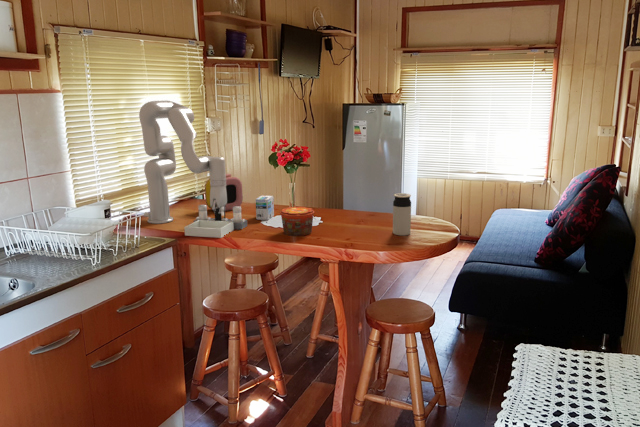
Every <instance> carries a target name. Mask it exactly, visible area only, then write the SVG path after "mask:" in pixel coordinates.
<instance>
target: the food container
mask: <svg viewBox="0 0 640 427" xmlns="http://www.w3.org/2000/svg"><path fill="white" fill-rule="evenodd" d="M314 214H315V210H313V208H312V207H305V206H290V207H285V208H282V209H281V210H280V212H279V215H281V222H282V223H281V224H282V228H283V234H284V235H286V236H291V237H300V236H301V237H303V236H307V235H310V234H311V233H312V232H313V231H312V230H313V219H314Z"/></svg>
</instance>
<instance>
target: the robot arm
mask: <svg viewBox="0 0 640 427" xmlns="http://www.w3.org/2000/svg"><path fill="white" fill-rule="evenodd" d="M138 112H139V113H138V118H139V122H140V126H141V131H142V132H141V133H142V142H143V147H144V152H145V154H146V155H147V156H149V157H157V156H158V157H157V158H153V159H150V160H148V161H147V162H145V164H144V167H143V170H144V176H145V178H146V183H147V185H146V186H147V192H148V194H147V195H148V204H149V212H147V211H145V212H144V214H143V217H147V218H148V219H147V223H149V224H154V225H155V224H156V225H157V224H166V223H171V222H173V221H174V217H173V216H171V214H170V204H169V202H170V201H169V200H170V199H169V188H168V183H167V181H166V179H165V177H168V176H171V175H173V174H174V173H175V172H176V168H177V160H176V154H175V153H176V152H175V145H174V143H173V141H172V140H171V138H170V137H169V136H167V135H162V134H161V127H160V125H159V123H158V119H167V120H168V121H169V124H170V126H171V127H172V129H173V131H174V133H175V134H176V136H177V137H178V140H179V142H180V153H181V157H182V160H183V161H184V163H185V165H186V167H187V168H188V169H189V171H190V172H191V173H192V174H202V173H206V172H209V179H210V186H211V188H210V206H211V207H212V209H211V210H212V211H213V213H214V218H215V221H222V220H221V213H220V207H222V206H224V219H225V218H226V211H225V207H226V204H227V192H226V174H227V173H226V172H227V171H226V159H225V157H223V156H211V155H203V156H202V155H201V156H198V155H197V153H196V152H195V148H194V141H195V140H196V138H197V136H198V134H197V131H196V130H195V128H194V126H193V124H192V123H193V122H194V120H195V113H194V111H193V110H192V109H191V108H190V107H188V106H186V105H183V104H180V103H177V102H174V101H170V100H153V101H147V102H145V103H144V104H143V105H142V106H141V107H140V109H139V111H138ZM216 206H218V207H216ZM216 208H218V209H216Z"/></svg>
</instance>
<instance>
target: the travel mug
mask: <svg viewBox="0 0 640 427" xmlns="http://www.w3.org/2000/svg"><path fill="white" fill-rule="evenodd" d="M393 196H394V199H393V201H392V202H393V203H392V206H393V207H392V208H393V209H392V233H393V234H394V235H396V236H408V235H410V234H411V228H412V227H411V220H412V219H411V218H412V201H411V196H412V195H411V194H410V193H401V192H400V193H395V194H393Z"/></svg>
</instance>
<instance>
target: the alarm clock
mask: <svg viewBox="0 0 640 427" xmlns="http://www.w3.org/2000/svg"><path fill="white" fill-rule="evenodd" d="M210 188H211V186H210V178H209V179H207V181H206V182H205V185H204V191H205V194H204V195H205V196H204V197H205V202H206V204H205V205H207V208H209V209H211V210H212V207H211V206H210ZM226 192H227V204H226V207H225V212H227V211H233V207H235V206H240V207H242V206H241V205H242V203H243V198H244V197H243V184H242V181H241V179H240V178H238V177H237V176H232V173H226Z"/></svg>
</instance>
